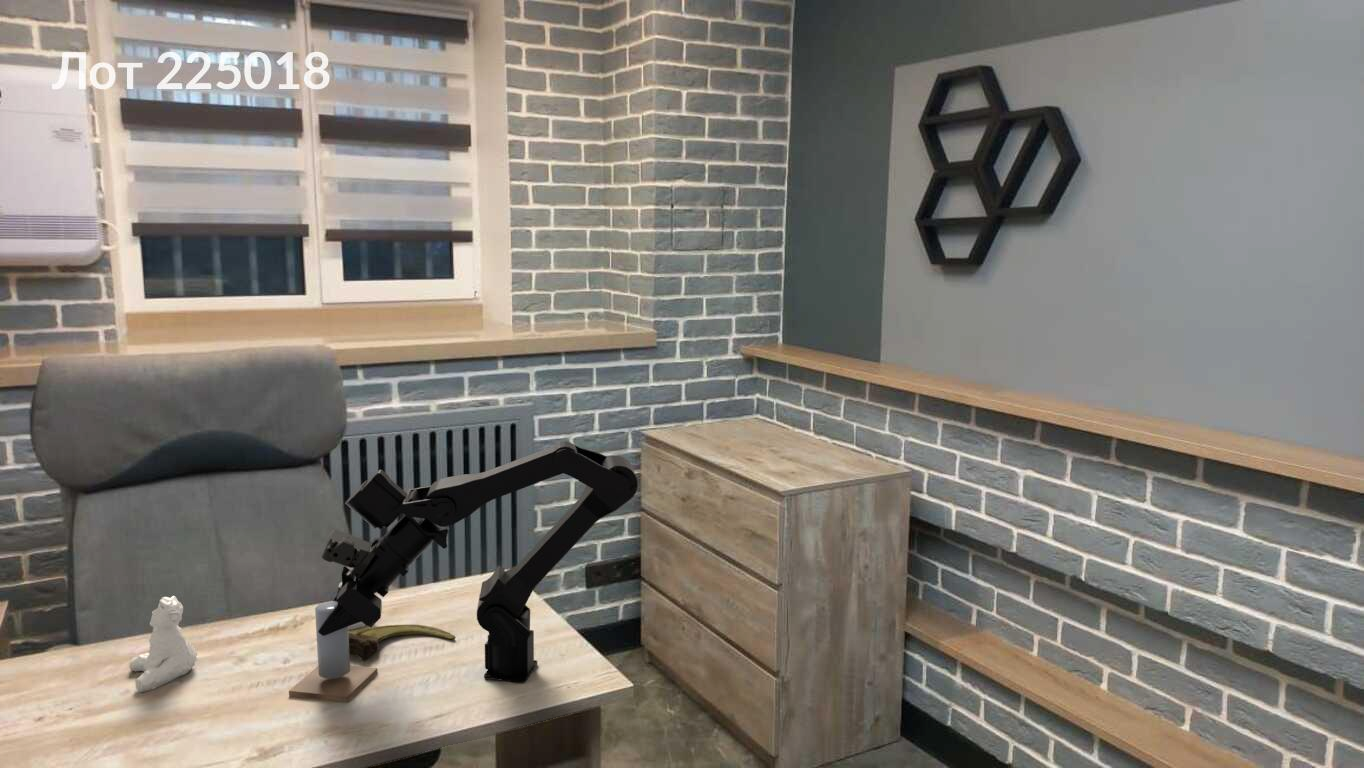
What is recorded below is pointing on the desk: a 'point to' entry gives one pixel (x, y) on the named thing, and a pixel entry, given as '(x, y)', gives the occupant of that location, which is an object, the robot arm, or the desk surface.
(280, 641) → the desk surface
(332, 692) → the coaster
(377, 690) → the desk surface
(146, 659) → the white creature statuette
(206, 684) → the desk surface
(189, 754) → the desk surface
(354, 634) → the claw
